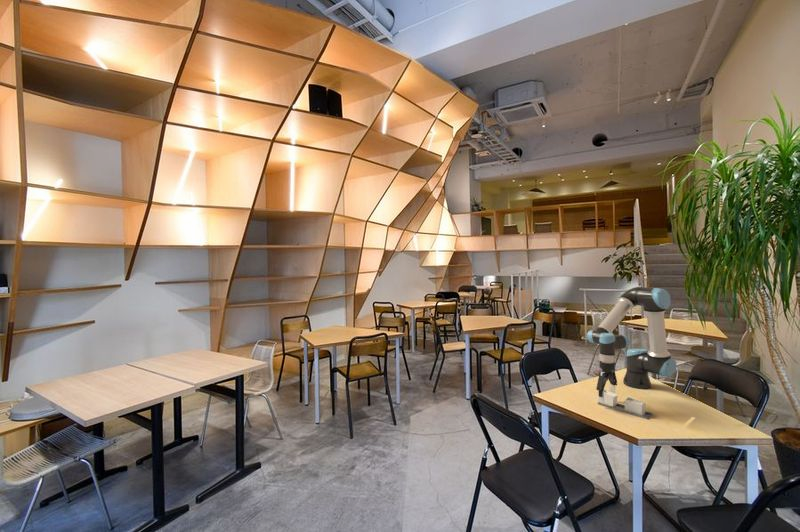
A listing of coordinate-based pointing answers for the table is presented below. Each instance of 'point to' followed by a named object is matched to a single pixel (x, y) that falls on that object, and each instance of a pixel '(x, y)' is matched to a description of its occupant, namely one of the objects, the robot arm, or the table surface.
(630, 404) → the module seated
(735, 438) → the table surface
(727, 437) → the table surface
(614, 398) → the block
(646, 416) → the rail
